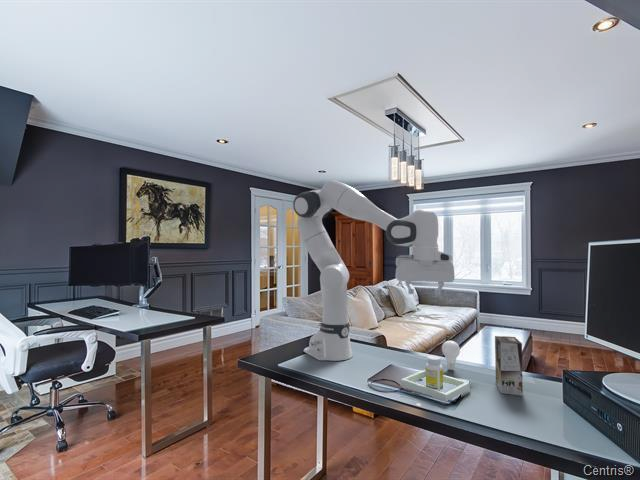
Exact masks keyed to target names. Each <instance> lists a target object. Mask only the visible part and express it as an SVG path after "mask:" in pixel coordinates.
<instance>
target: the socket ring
mask: <svg viewBox="0 0 640 480" xmlns="http://www.w3.org/2000/svg"><path fill="white" fill-rule="evenodd" d="M367 385H368V386H369V388H370V389H372V390H373V391H376V392H382V393H394V392H396V391H394V389H380V388H377V387H374V386H373V385H372V384H371V385H370V384H369V382H368V384H367Z"/></svg>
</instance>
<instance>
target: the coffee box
mask: <svg viewBox="0 0 640 480" xmlns="http://www.w3.org/2000/svg"><path fill="white" fill-rule="evenodd" d="M494 357H495V358H494V359H495V360H494V361H495V362H494V363H495V385H496V386H497V388H498V390H499V391H500V394H505V395H513V396H523V393H524V391H523V390H524V389H523V387H524V386H523V343H522V342H521V341H520V340H519V339H517V337H515V336H505V335H504V336H502V335H501V336H499V335H495V336H494Z"/></svg>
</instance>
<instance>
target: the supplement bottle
mask: <svg viewBox="0 0 640 480" xmlns="http://www.w3.org/2000/svg"><path fill="white" fill-rule="evenodd" d="M426 360H427V363H426V364H425V366H424V367H425V368H424V370H425V374H426V386H427V387H430V388H432V389H435V390H438V391H440V390H443V375H444V367H443V365H442V364H441V363H442V362H441V357H440V356H437V355H428V356H427V359H426Z"/></svg>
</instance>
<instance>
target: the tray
mask: <svg viewBox="0 0 640 480" xmlns="http://www.w3.org/2000/svg"><path fill="white" fill-rule="evenodd" d="M424 377H426V374H425V369H422V370H421V371H418V372H415V373H412V374H410V375H408V376H406V377H403V378H401V379H400V383H401V385H402V386H405V387H408V388H411V389H414V390H416V391H418V392H421V393H423V394H427V395H430V396H432V397H434V398H437V399H439V400H442V401H445V402H447V401H448V400H450V399H452V398H453V397H455V396H457V395H459V394H461V398H462V397H464V396H466V395H467V394H470V393H471V388H470V387H471V386H470V385H471V384H470V382H468V381H465V380H462V379H459V378H455V377H452V376H448V375H446V374H443V382H445V383H449V384H453V385H456V386H458V387H456V388H454V389H452V390H450V391H448V392H446V393H444V392H441V391H438V390H435V389H432V388H430V387H427V386H424V385H421V384H418V383H415V382H414V381H417V380H419V379H421V378H424Z"/></svg>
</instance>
